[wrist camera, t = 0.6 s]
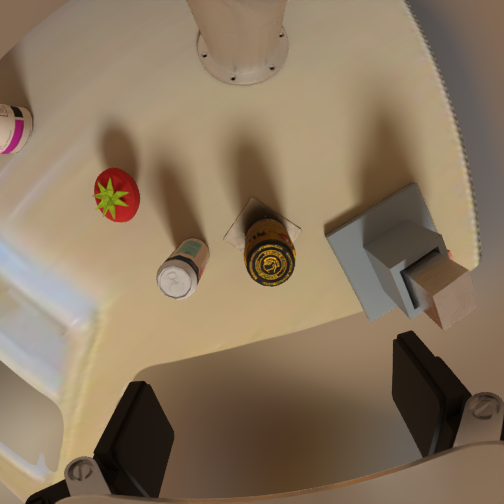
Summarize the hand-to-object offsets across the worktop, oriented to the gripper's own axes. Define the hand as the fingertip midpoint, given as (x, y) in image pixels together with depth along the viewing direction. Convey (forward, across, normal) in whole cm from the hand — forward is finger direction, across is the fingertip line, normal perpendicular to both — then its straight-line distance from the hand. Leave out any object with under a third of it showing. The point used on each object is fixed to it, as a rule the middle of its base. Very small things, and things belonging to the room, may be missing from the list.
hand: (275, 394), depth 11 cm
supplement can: (+35, +37, -26) cm, 57 cm away
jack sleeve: (+35, -19, +8) cm, 41 cm away
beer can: (+35, +10, +2) cm, 37 cm away
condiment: (+35, 0, +1) cm, 35 cm away
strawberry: (+35, +17, -9) cm, 40 cm away
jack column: (+34, -19, +8) cm, 39 cm away
